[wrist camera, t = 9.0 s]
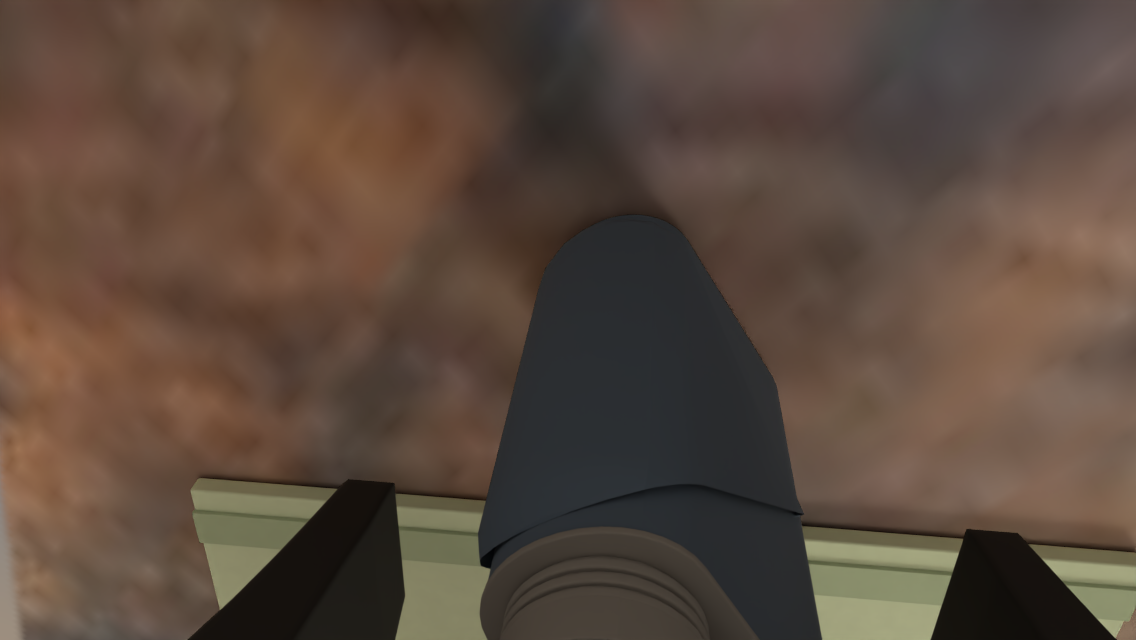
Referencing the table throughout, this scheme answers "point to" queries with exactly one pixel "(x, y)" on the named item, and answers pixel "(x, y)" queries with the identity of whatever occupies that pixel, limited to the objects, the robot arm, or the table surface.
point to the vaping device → (642, 460)
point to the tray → (457, 580)
